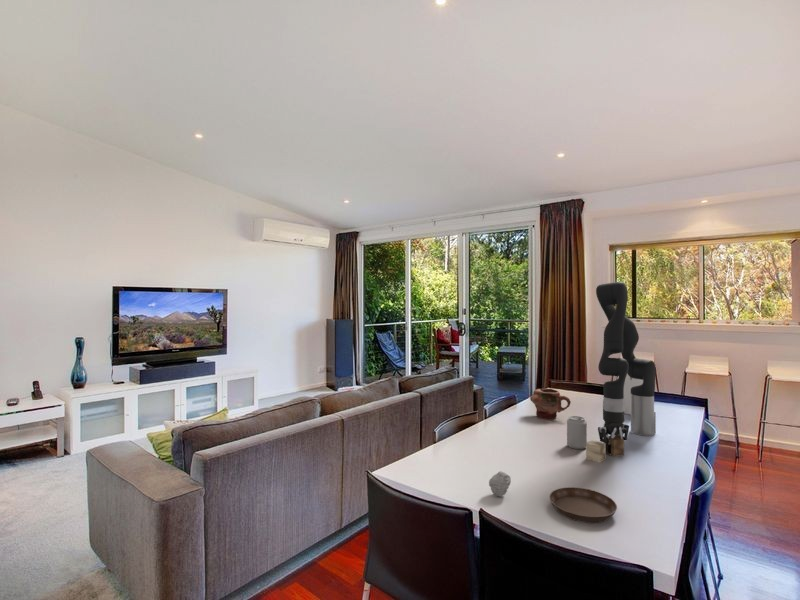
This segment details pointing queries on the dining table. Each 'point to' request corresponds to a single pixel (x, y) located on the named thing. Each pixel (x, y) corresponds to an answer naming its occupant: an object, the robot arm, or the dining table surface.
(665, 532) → the dining table surface
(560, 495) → the plant saucer
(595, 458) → the maple block
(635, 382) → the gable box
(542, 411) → the clay jug
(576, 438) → the can
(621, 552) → the dining table surface
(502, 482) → the grey lumpy rounded piece
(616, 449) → the walnut block
